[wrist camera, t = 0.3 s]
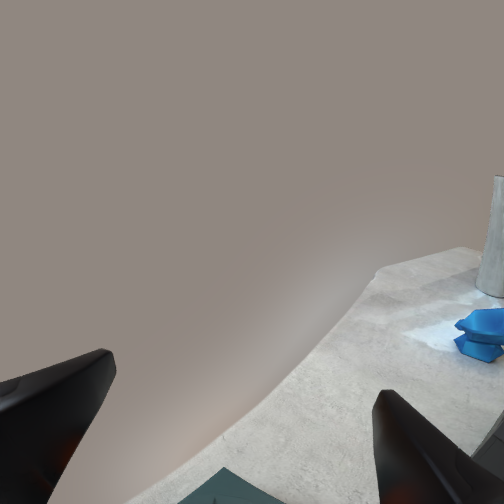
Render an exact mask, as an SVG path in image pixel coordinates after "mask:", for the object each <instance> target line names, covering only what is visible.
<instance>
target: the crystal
mask: <svg viewBox="0 0 504 504" xmlns="http://www.w3.org/2000/svg"><path fill="white" fill-rule="evenodd" d="M454 326H455V327H456V328H457V329H458V330H462V331H464V332H465V334H463V335H461V336H460V337H458V338H456V339H454V341H455V343H456V345H457V347H458V348H459V350H460V352H461V353H463V354H465V355H468V356H471V357H473V358H476V359H479V360H482V361H484V362H487V363H489V362H491V361H492V360H494V359H496V358H498V357H499V356H501V355H503V354H504V350H503V349H502V347H501V345H504V308H497V309H480V310H474V311H473V312H472V313H471V314H470V315H469V316H468V317H467V318H465V319H462V320H459V321H458V322H457V323H456V324H455V325H454Z"/></svg>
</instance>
